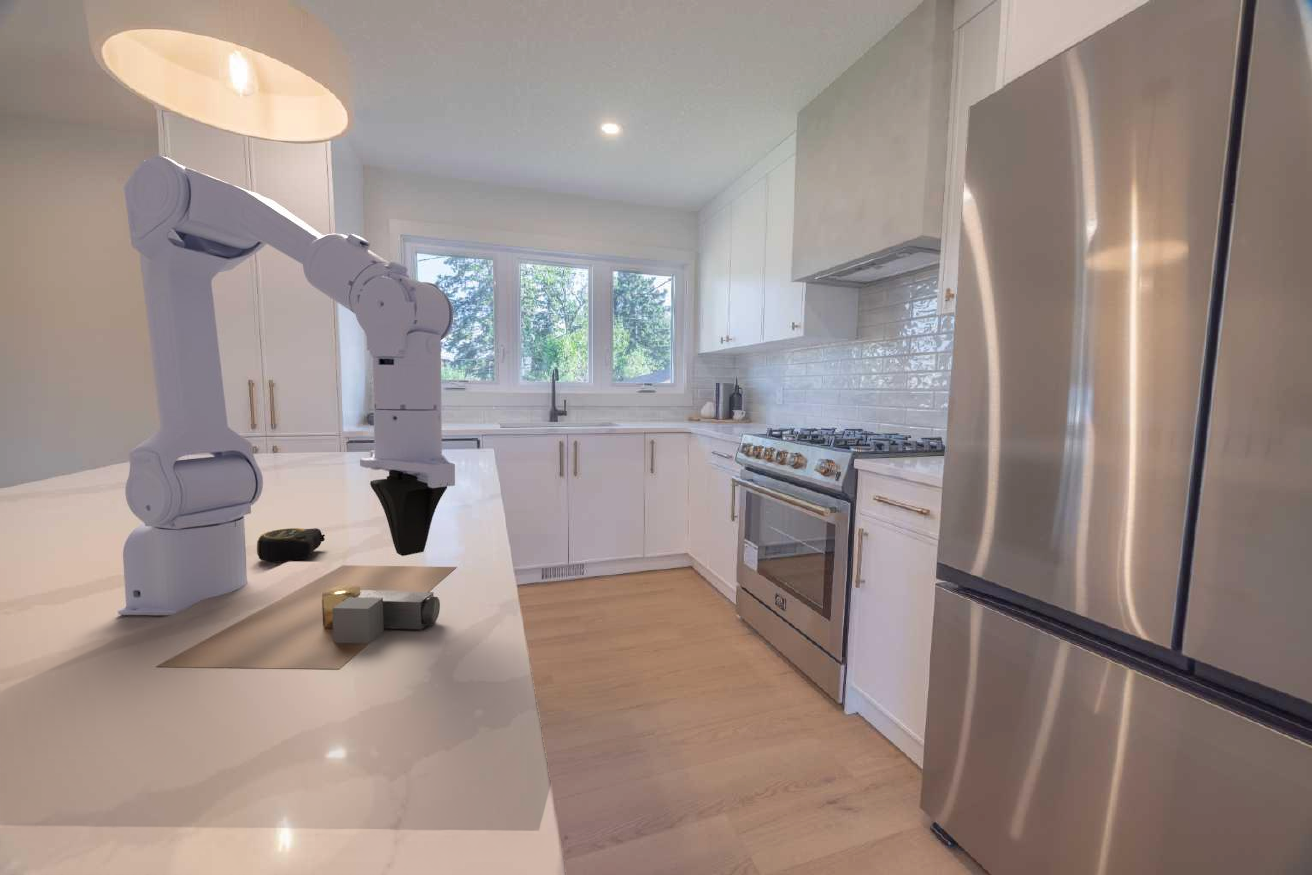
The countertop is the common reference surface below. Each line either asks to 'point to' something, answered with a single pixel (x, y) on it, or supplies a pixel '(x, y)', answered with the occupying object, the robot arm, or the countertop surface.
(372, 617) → the block
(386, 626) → the gold-capped grey rod
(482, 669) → the countertop surface
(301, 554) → the tape measure
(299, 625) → the wooden board
